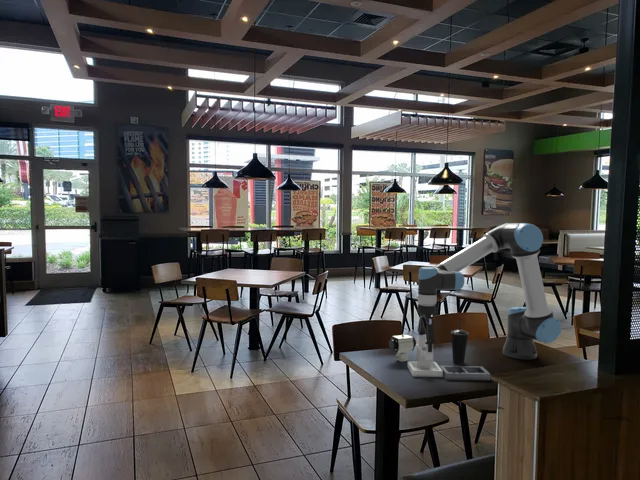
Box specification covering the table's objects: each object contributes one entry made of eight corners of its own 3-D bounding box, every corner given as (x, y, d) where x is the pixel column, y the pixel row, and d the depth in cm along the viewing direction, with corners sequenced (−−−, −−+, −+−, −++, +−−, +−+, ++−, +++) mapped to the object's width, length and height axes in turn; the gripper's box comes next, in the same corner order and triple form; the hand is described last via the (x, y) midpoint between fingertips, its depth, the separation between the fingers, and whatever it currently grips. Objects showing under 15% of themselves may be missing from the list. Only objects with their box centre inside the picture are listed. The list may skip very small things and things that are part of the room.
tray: (435, 367, 210) (435, 361, 210) (442, 377, 198) (442, 371, 198) (407, 367, 210) (407, 361, 210) (413, 376, 198) (413, 370, 198)
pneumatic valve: (388, 360, 219) (388, 334, 219) (410, 357, 224) (410, 331, 223) (394, 363, 214) (395, 337, 214) (416, 361, 219) (417, 334, 218)
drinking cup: (468, 365, 214) (470, 320, 213) (450, 364, 216) (451, 319, 214) (466, 360, 222) (468, 317, 220) (449, 359, 223) (450, 315, 222)
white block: (429, 368, 207) (430, 346, 207) (432, 372, 202) (433, 349, 201) (416, 368, 207) (417, 346, 206) (419, 372, 201) (420, 349, 201)
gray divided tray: (481, 372, 206) (482, 366, 206) (490, 380, 196) (490, 374, 196) (439, 371, 205) (439, 365, 205) (445, 379, 195) (446, 373, 195)
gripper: (411, 298, 215) (410, 346, 216) (424, 310, 190) (422, 363, 191) (428, 299, 215) (427, 346, 216) (443, 310, 190) (441, 364, 191)
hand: (425, 354), depth 204 cm, fingers open, 13 cm apart
